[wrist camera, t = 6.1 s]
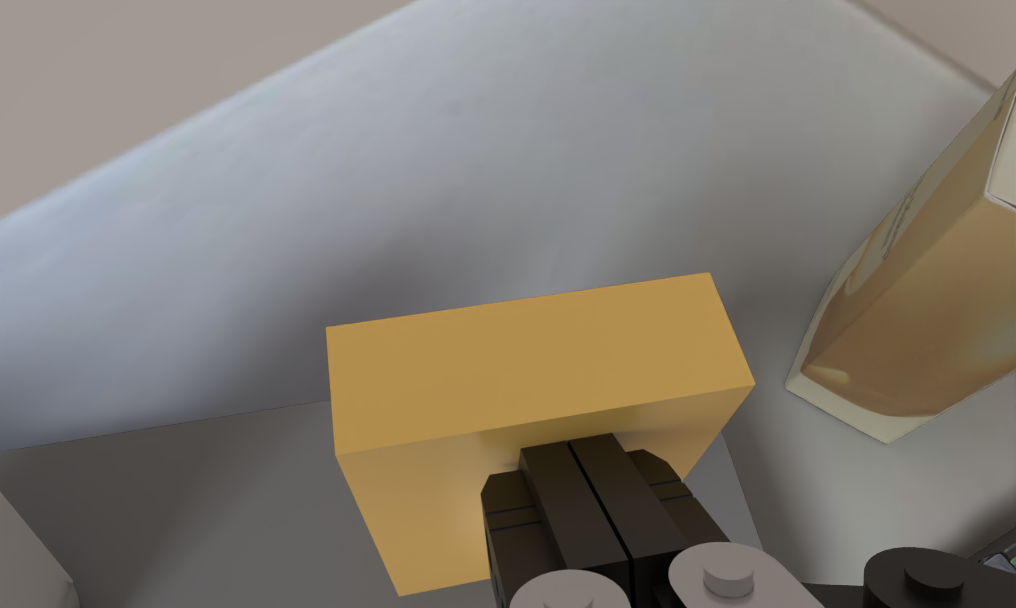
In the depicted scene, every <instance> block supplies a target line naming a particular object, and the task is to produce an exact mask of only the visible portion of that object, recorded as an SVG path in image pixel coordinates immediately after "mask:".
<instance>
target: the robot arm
mask: <svg viewBox="0 0 1016 608" xmlns="http://www.w3.org/2000/svg"><path fill="white" fill-rule="evenodd" d="M480 495H481V504H482V512H483V520H484V529H485V537H486V545H487V554H488V562H489V570H490V578H491V582H492V587H493V591H494V596H495V600H496V605H497V608H1016V574H1014V573H1010V572H1007V571H1004V570H1001V569H997V568H994V567H991V566H988V565H984V564H981V563H978V562H975V561H971V560H968V559H965V558H962V557H958V556H955V555H952V554H949V553H945V552H941V551H937V550H932V549H926V548H916V547H902V548H893V549H889V550H885V551H882V552H880V553H877V554H876V555H874V556H873V557H871V558H870V560H869V561H868V562H867V563H866V566H865V568H864V585H863V586H849V585H824V584H808V583H801V582H799V581H798V580H797V579H796V578H795V577H794V576H793V575H792V574H791V573H790V572H789V571H788V570H787V569H786V568H785V567H783V566H782V565H781V564H780V563H779V562H778V561H777V560H776V559H775V558H773V557H772V556H770V555H768V554H767V553H765V552H763V551H761V550H758V549H756V548H753V547H750V546H747V545H742V544H738V543H731V541H730V540H729V539H728V538H727V536H726V535H725V534H724V532H723V531H722V530H721V529H720V527H719V526H718V525H717V524H716V522H715V521H714V520H713V519H712V517H711V516H710V515H709V514H708V512H707V511H706V510H705V509H704V507H703V506H702V505H701V504H700V502H699V501H698V500H697V499H696V497H695V498H694V497H693V493H692V492H691V491H690V490H689V488H688V487H687V486H686V485H685V483H682V482H681V478H680V477H679V476H678V475H677V473H676V472H675V471H674V470H673V468H672V467H671V466H670V465H669V463H668V462H667V461H665V460H663V459H661V458H659V457H657V456H656V455H654V454H652V453H650V452H648V451H646V450H644V449H640V450H634V451H628V452H625V451H624V449H623V448H622V446H621V445H620V443H619V442H618V441H617V439H616V438H615V436H614V435H613V433H607V434H601V435H595V436H589V437H584V438H578V439H572V440H569V441H568V444H566V442H565V441H560V442H554V443H549V444H543V445H537V446H531V447H525V448H521V449H520V456H519V463H518V470H515V471H509V472H503V473H497V474H491V475H489V477H488V479H487V481H486V483H485V485H484V487H483V489H482V491H481V493H480Z"/></svg>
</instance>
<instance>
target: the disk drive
mask: <svg viewBox="0 0 1016 608" xmlns="http://www.w3.org/2000/svg"><path fill="white" fill-rule="evenodd" d="M968 560H971V561H975V562H978V563H981V564H984V565H988V566H991V567H994V568H997V569H1001V570H1004V571H1007V572H1010V573H1014V574H1016V527H1015V528H1014V529H1013V530H1011V531H1010V532H1009V533H1007V534H1005V535H1004V536H1002V537H1000V538H999V539H997V540H996V541H994V542H993V543H991V544H990V545H989V546H987V547H986V548H984V549H982V550H981V551H980V552H978V553H977V554H975V555H974V556H972V557H971V558H969V559H968Z"/></svg>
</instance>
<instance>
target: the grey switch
mask: <svg viewBox="0 0 1016 608" xmlns="http://www.w3.org/2000/svg"><path fill="white" fill-rule="evenodd" d="M72 584H73V580H72V578H71V577H70V576H69V575H68V574H67V572H66V571H65V570H64V569H63V567H62V566H61V565H60V564H59V563H58V561H57V560H56V559H55V558H54V557H53V555H52V554H51V553H50V552H49V550H48V549H47V548H46V547H45V546H44V544H43V543H42V542H41V541H40V539H39V538H38V537H37V536H36V535H35V533H34V532H33V531H32V530H31V529H30V527H29V526H28V525H27V524H26V522H25V521H24V520H23V519H22V518H21V516H20V515H19V514H18V513H17V511H16V510H15V509H14V508H13V507H12V505H11V504H10V503H9V502H8V501H7V499H6V498H5V497H4V496H3V494H2V493H1V492H0V608H80V603H79V598H78V594H77V592H76V589H75V588H74V586H73V585H72Z"/></svg>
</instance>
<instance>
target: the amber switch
mask: <svg viewBox="0 0 1016 608" xmlns="http://www.w3.org/2000/svg"><path fill="white" fill-rule="evenodd" d="M326 339H327V352H328V366H329V379H330V392H331V406H332V419H333V433H334V446H335V456H336V458H337V460H338V463H339V465H340V467H341V469H342V472H343V474H344V476H345V478H346V480H347V483H348V485H349V487H350V489H351V491H352V494H353V496H354V498H355V500H356V503H357V505H358V507H359V509H360V511H361V514H362V516H363V518H364V520H365V523H366V525H367V527H368V529H369V531H370V534H371V536H372V538H373V540H374V542H375V545H376V547H377V549H378V551H379V554H380V556H381V558H382V560H383V562H384V565H385V567H386V569H387V571H388V574H389V576H390V578H391V580H392V582H393V585H394V587H395V589H396V591H397V593H398V596H399V597H400V596H405V595H410V594H415V593H420V592H425V591H430V590H435V589H440V588H445V587H450V586H455V585H460V584H465V583H470V582H475V581H481V580H486V579H491V578H490V570H489V562H488V554H487V545H486V537H485V529H484V520H483V512H482V504H481V495H480V493H481V491H482V489H483V487H484V485H485V483H486V481H487V479H488V477H489V475H491V474H497V473H503V472H509V471H515V470H518V463H519V456H520V449H521V448H525V447H531V446H537V445H543V444H549V443H554V442H560V441H565V442H566V444H568V441H569V440H572V439H578V438H584V437H589V436H595V435H601V434H607V433H613V435H614V436H615V438H616V439H617V441H618V442H619V443H620V445H621V446H622V448H623V449H624V451H625V452H628V451H634V450H640V449H644V450H646V451H648V452H650V453H652V454H654V455H656V456H657V457H659V458H661V459H663V460H665V461H667V462H668V463H669V465H670V466H671V467H672V468H673V470H674V471H675V472H676V473H677V475H678V476H679V477H680V478H681V482H682V481H683V479H684V478H685V477H686V475H687V474H688V473H689V471H690V470H691V469H692V468H693V466H694V465H695V464H696V462H697V461H698V460H699V458H700V457H701V456H702V454H703V453H704V452H705V451H706V449H707V448H708V447H709V445H710V444H711V443H712V441H713V440H714V439H715V437H716V436H717V435H718V434H719V432H720V431H721V430H722V428H723V427H724V426H725V424H726V423H727V422H728V420H729V419H730V418H731V417H732V415H733V414H734V413H735V411H736V410H737V409H738V407H739V406H740V405H741V403H742V402H743V401H744V400H745V398H746V397H747V396H748V394H749V393H750V392H751V390H752V389H753V388H754V386H755V385H756V383H755V381H754V378H753V376H752V374H751V371H750V369H749V366H748V364H747V361H746V359H745V357H744V354H743V352H742V349H741V347H740V345H739V342H738V340H737V337H736V335H735V333H734V330H733V328H732V325H731V323H730V320H729V318H728V316H727V313H726V311H725V308H724V306H723V304H722V301H721V299H720V296H719V294H718V291H717V289H716V287H715V284H714V282H713V279H712V277H711V275H710V272H706V273H699V274H692V275H685V276H678V277H671V278H664V279H657V280H650V281H643V282H636V283H629V284H622V285H615V286H608V287H601V288H594V289H587V290H580V291H573V292H567V293H560V294H553V295H546V296H539V297H532V298H525V299H518V300H511V301H504V302H497V303H490V304H483V305H476V306H469V307H462V308H455V309H448V310H441V311H434V312H428V313H421V314H414V315H407V316H400V317H393V318H386V319H379V320H372V321H365V322H358V323H351V324H344V325H337V326H330V327H326Z"/></svg>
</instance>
